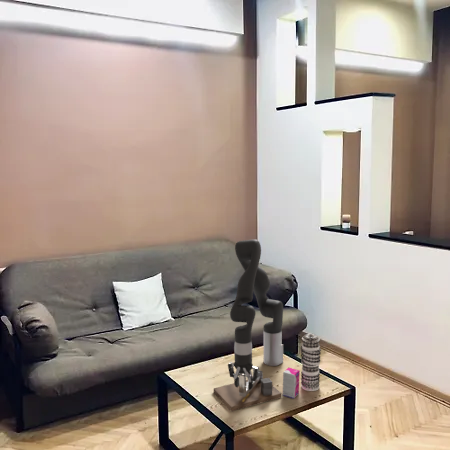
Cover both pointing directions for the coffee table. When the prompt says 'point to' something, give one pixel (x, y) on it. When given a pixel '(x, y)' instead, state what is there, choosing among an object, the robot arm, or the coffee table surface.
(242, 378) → the lever
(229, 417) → the coffee table surface
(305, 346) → the white patterned cylinder
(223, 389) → the brown board
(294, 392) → the supplement box
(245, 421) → the coffee table surface
